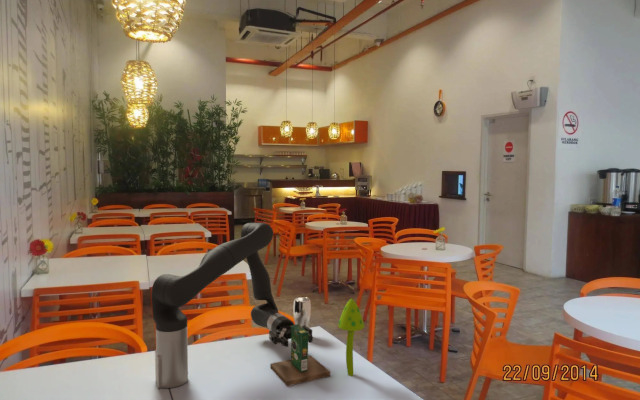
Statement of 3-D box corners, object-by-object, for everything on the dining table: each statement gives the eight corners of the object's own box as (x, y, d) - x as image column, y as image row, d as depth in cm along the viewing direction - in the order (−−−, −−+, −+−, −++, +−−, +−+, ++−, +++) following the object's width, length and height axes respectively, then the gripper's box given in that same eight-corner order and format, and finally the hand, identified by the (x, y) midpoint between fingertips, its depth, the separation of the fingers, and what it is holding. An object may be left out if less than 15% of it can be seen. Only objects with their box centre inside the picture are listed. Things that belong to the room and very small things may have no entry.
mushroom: (342, 382, 135) (343, 303, 134) (334, 370, 144) (335, 295, 142) (367, 378, 138) (368, 301, 136) (358, 367, 146) (359, 294, 144)
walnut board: (287, 386, 132) (287, 381, 132) (270, 368, 145) (270, 363, 145) (330, 376, 139) (330, 371, 139) (310, 359, 152) (310, 355, 152)
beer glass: (310, 339, 170) (310, 302, 169) (292, 339, 170) (292, 301, 169) (310, 333, 177) (311, 297, 176) (293, 333, 177) (294, 296, 176)
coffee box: (308, 371, 139) (309, 331, 138) (300, 373, 138) (300, 332, 137) (298, 361, 146) (298, 323, 146) (290, 363, 145) (290, 324, 144)
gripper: (261, 318, 153) (279, 334, 138) (298, 313, 159) (318, 327, 145) (261, 339, 153) (279, 357, 139) (298, 333, 160) (318, 349, 145)
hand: (299, 341), depth 142 cm, fingers open, 8 cm apart
